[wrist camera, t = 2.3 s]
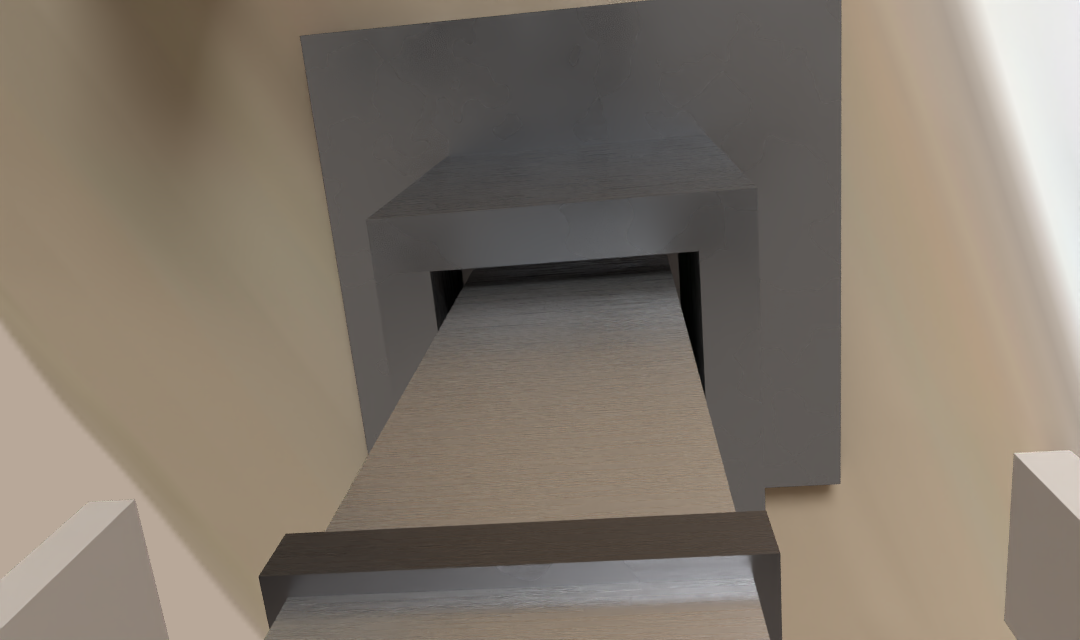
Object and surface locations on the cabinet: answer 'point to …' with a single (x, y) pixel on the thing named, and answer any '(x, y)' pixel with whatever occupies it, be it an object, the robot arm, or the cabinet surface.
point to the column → (541, 482)
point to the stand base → (604, 192)
